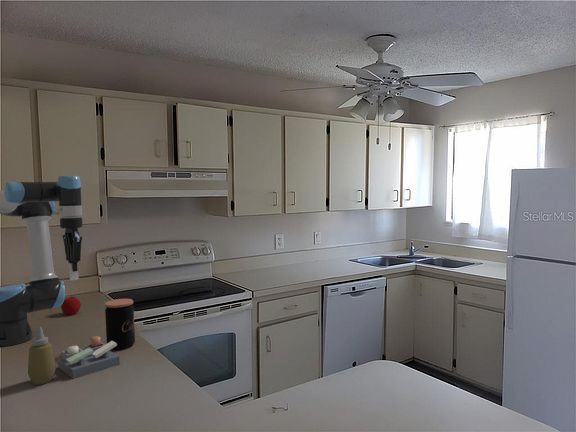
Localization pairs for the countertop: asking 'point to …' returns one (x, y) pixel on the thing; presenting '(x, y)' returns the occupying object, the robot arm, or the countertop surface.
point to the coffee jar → (120, 323)
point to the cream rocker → (104, 349)
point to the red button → (95, 341)
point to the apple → (70, 305)
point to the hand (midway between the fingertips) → (74, 279)
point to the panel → (87, 362)
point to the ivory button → (72, 349)
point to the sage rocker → (79, 356)
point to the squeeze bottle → (41, 360)
